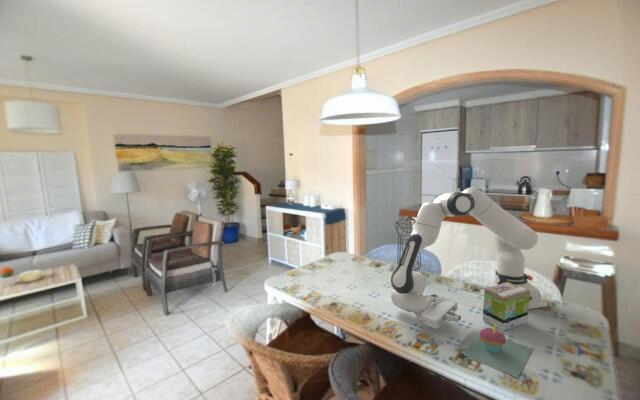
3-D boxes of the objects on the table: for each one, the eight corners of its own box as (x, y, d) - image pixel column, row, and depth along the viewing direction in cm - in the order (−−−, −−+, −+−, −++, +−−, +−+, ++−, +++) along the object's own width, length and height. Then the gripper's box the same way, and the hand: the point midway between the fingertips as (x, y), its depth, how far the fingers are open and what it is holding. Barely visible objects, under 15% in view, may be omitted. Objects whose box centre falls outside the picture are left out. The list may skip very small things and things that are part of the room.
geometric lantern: (398, 276, 177) (397, 218, 173) (394, 267, 193) (393, 214, 188) (425, 276, 175) (425, 217, 171) (419, 267, 191) (418, 213, 187)
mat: (474, 328, 123) (474, 327, 123) (533, 349, 108) (533, 348, 108) (454, 351, 109) (454, 350, 109) (517, 379, 95) (517, 377, 95)
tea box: (504, 332, 119) (506, 297, 117) (481, 320, 128) (483, 287, 126) (528, 322, 125) (530, 289, 123) (505, 311, 134) (506, 280, 132)
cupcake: (510, 355, 105) (511, 323, 104) (487, 356, 105) (487, 325, 104) (496, 340, 114) (497, 311, 112) (474, 342, 114) (474, 312, 112)
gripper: (413, 310, 119) (448, 322, 109) (437, 292, 133) (469, 301, 123) (414, 324, 120) (448, 338, 110) (437, 305, 134) (469, 316, 124)
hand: (459, 319), depth 117 cm, fingers closed
